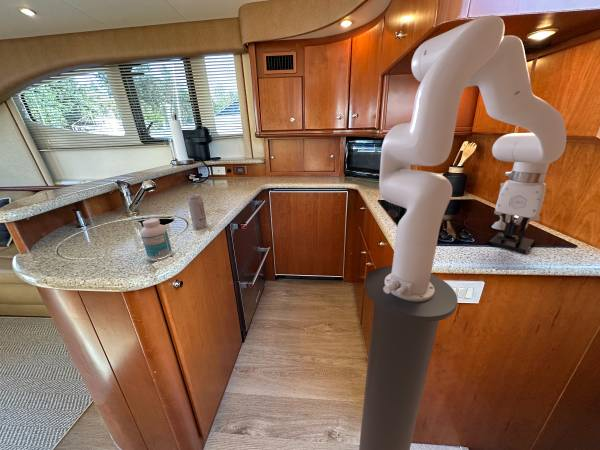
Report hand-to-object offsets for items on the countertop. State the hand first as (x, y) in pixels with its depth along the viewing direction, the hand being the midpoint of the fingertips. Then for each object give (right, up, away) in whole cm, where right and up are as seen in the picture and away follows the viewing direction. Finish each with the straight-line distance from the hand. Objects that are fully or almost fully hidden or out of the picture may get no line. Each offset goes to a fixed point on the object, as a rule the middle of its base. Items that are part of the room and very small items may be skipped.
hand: (509, 234), depth 77 cm
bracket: (+7, -4, +7) cm, 11 cm away
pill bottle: (-116, -8, +5) cm, 117 cm away
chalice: (+15, +2, +22) cm, 26 cm away
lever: (+4, +2, +3) cm, 5 cm away
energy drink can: (-114, +2, +32) cm, 119 cm away
